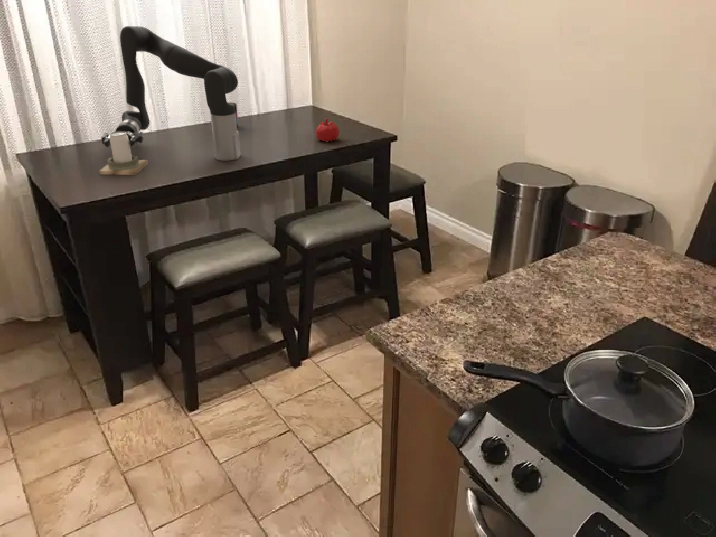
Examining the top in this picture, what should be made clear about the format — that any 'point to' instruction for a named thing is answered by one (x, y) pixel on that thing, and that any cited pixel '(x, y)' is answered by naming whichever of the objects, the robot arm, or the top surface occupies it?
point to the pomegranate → (327, 131)
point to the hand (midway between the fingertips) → (119, 144)
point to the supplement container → (235, 112)
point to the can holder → (124, 167)
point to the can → (120, 147)
